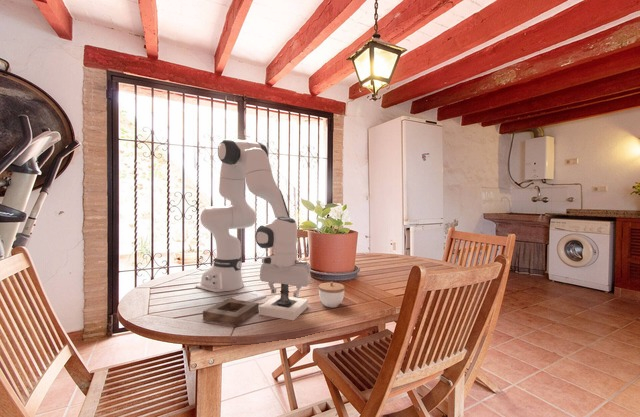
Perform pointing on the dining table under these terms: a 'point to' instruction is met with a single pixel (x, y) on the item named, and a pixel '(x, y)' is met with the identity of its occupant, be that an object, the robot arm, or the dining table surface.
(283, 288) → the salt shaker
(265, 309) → the off-white holder
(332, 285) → the lidded jar
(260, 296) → the external hard drive
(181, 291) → the dining table surface
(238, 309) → the walnut holder
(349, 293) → the dining table surface
